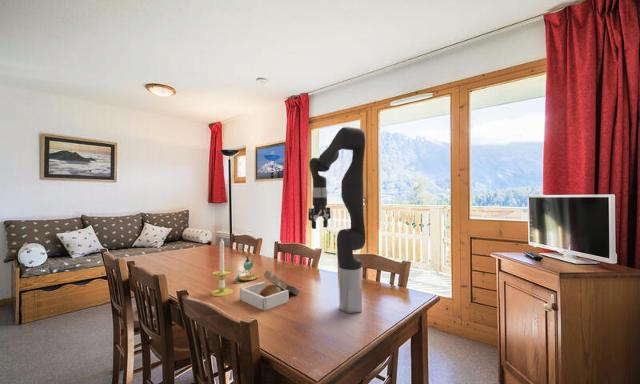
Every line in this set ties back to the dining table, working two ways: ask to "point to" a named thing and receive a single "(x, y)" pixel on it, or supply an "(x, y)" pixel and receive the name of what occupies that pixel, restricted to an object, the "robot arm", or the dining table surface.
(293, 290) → the scraper
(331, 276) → the dining table surface
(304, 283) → the dining table surface
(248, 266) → the frog figurine
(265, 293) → the bread roll
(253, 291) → the box
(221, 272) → the candle
